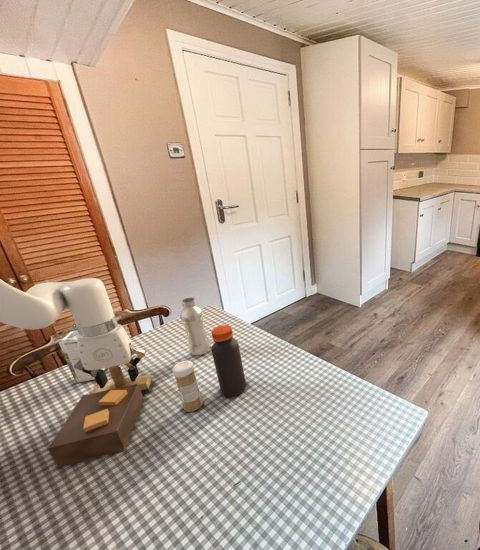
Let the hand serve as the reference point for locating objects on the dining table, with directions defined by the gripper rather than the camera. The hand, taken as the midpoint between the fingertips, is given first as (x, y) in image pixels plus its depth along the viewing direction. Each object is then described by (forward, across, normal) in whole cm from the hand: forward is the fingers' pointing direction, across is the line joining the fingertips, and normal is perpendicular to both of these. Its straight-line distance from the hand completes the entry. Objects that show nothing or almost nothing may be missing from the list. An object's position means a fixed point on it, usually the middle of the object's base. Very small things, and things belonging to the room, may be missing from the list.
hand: (119, 381), depth 84 cm
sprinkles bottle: (+5, +19, -12) cm, 23 cm away
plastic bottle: (+5, +18, +14) cm, 23 cm away
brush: (+5, 0, 0) cm, 5 cm away
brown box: (+5, 0, -13) cm, 14 cm away
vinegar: (+5, +29, -9) cm, 31 cm away
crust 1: (-1, +1, -16) cm, 17 cm away
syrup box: (+5, -12, +13) cm, 18 cm away
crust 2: (-1, +2, -10) cm, 10 cm away
